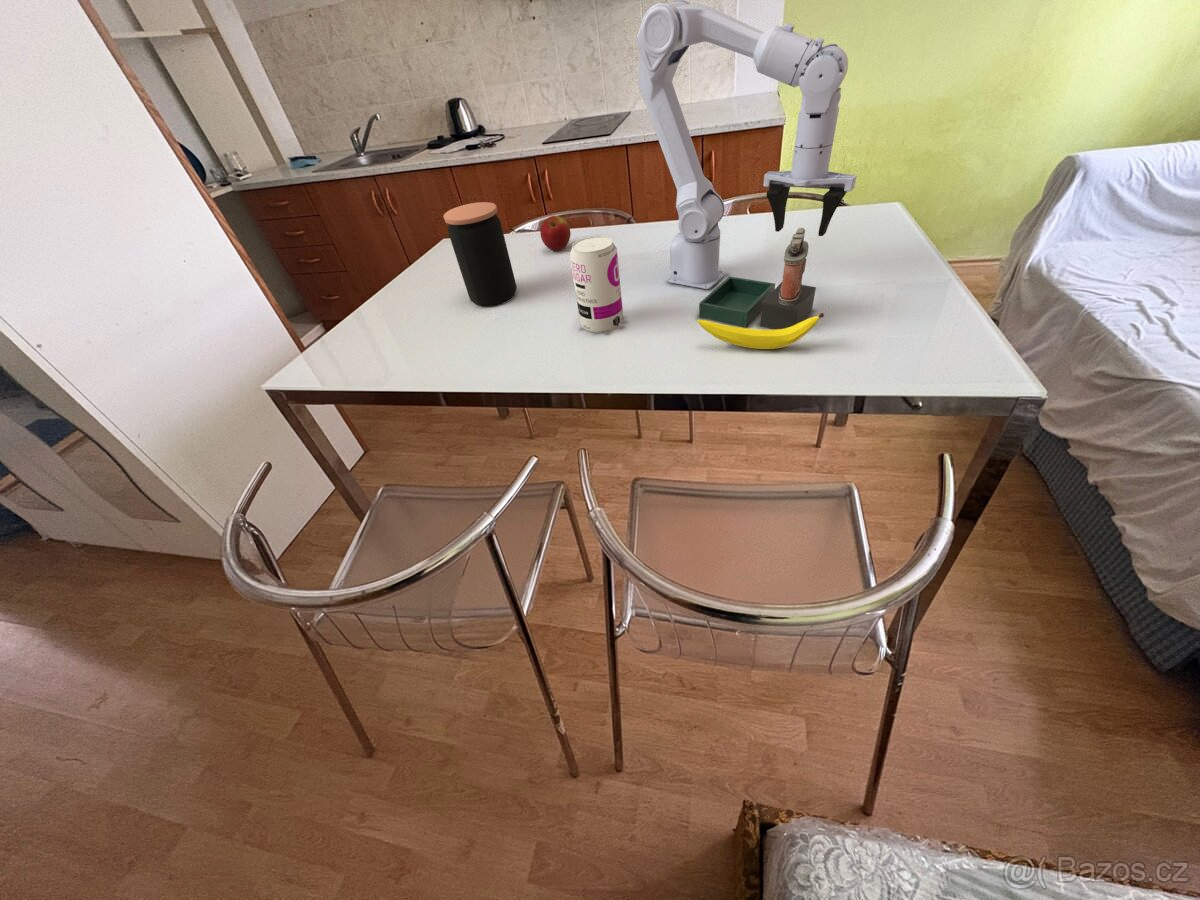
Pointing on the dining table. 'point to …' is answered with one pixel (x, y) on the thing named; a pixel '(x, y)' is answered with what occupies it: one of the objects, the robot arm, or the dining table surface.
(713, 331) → the banana
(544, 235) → the apple
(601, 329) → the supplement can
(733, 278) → the tray
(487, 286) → the coffee jar
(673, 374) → the dining table surface
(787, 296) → the lighter
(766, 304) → the stand
